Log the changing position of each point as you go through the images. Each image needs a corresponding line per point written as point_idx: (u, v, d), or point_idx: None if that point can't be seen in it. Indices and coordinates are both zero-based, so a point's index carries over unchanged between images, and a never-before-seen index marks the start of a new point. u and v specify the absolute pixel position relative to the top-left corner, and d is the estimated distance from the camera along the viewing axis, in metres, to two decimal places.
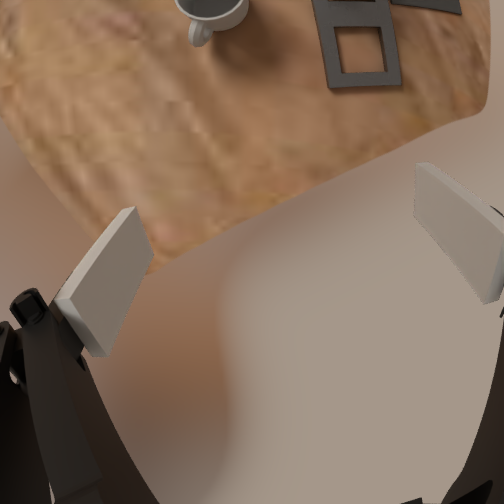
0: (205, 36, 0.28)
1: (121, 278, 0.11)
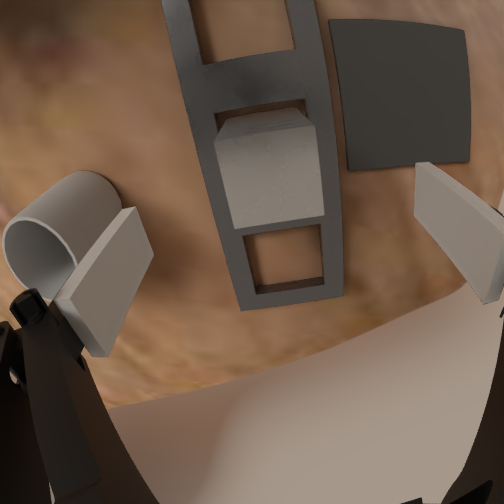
0: None
1: (121, 278, 0.11)
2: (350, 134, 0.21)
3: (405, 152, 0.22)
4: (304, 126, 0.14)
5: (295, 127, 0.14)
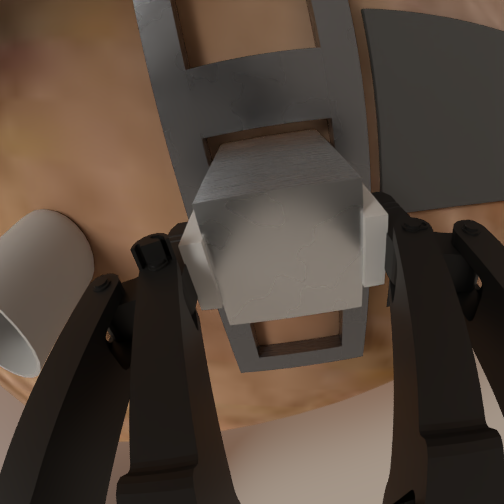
0: None
1: None
2: (387, 167, 0.16)
3: (451, 189, 0.16)
4: (345, 179, 0.09)
5: (330, 180, 0.09)
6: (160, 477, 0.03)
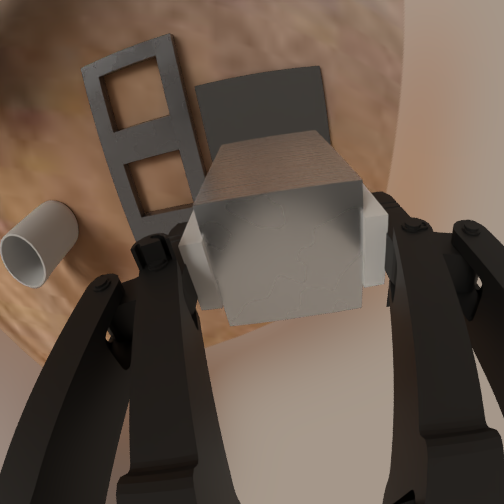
0: None
1: None
2: None
3: None
4: (345, 180, 0.09)
5: (330, 182, 0.09)
6: (160, 477, 0.03)
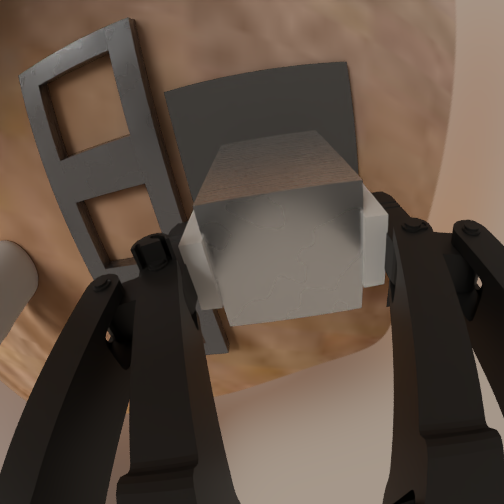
0: None
1: None
2: None
3: None
4: (345, 181, 0.09)
5: (330, 182, 0.09)
6: (160, 477, 0.03)
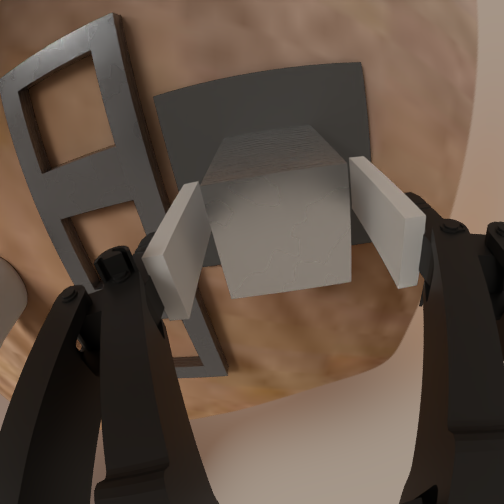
0: None
1: (194, 245, 0.12)
2: None
3: None
4: (332, 164, 0.10)
5: (319, 165, 0.10)
6: (134, 480, 0.03)
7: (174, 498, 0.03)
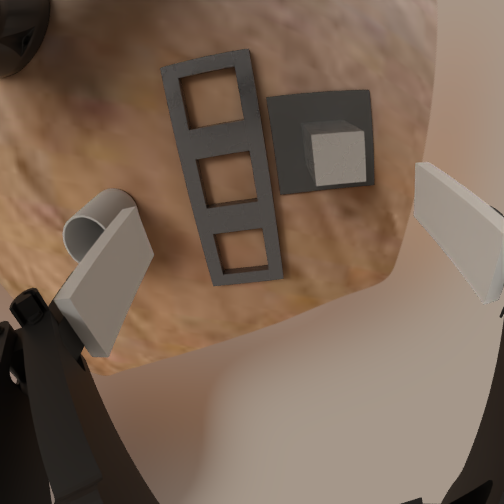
0: None
1: (121, 278, 0.11)
2: (280, 171, 0.36)
3: None
4: (358, 131, 0.26)
5: (353, 131, 0.26)
6: (75, 498, 0.03)
7: None
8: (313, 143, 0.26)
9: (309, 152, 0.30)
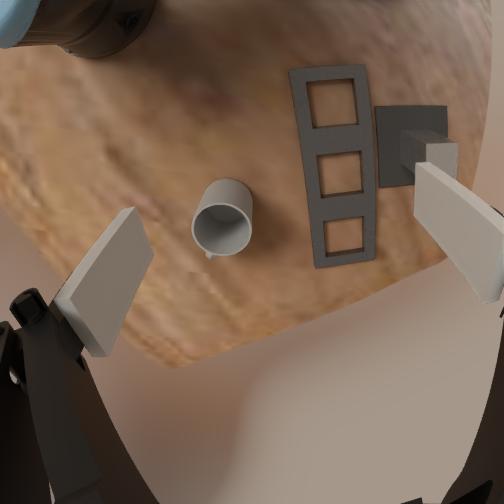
0: None
1: (121, 278, 0.11)
2: (381, 168, 0.40)
3: (409, 177, 0.41)
4: (454, 142, 0.30)
5: (451, 142, 0.30)
6: (75, 497, 0.03)
7: None
8: (427, 150, 0.31)
9: (416, 155, 0.34)
